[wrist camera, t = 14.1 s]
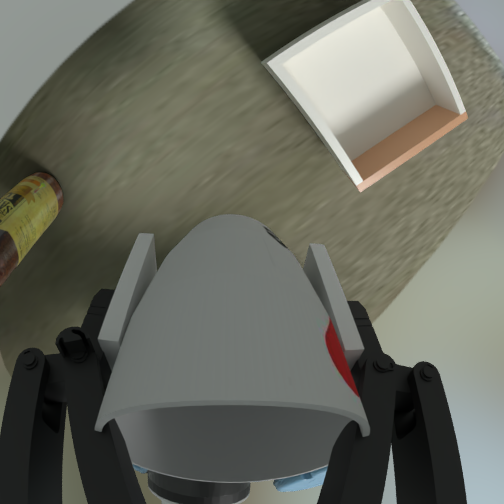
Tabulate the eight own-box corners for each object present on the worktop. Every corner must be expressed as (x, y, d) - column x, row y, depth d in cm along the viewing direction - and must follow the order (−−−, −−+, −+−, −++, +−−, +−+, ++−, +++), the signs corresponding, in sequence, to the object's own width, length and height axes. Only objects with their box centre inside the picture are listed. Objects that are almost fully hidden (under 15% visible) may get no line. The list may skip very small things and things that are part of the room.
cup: (292, 315, 19) (321, 477, 10) (157, 308, 18) (129, 474, 10) (325, 192, 14) (423, 385, 6) (146, 178, 13) (48, 376, 5)
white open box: (424, 100, 26) (468, 118, 20) (334, 160, 30) (360, 192, 24) (362, -2, 20) (400, -14, 14) (258, 62, 24) (266, 62, 18)
